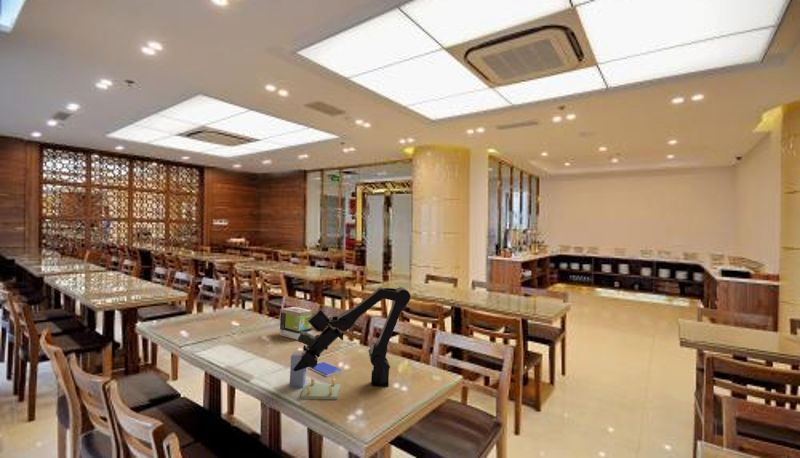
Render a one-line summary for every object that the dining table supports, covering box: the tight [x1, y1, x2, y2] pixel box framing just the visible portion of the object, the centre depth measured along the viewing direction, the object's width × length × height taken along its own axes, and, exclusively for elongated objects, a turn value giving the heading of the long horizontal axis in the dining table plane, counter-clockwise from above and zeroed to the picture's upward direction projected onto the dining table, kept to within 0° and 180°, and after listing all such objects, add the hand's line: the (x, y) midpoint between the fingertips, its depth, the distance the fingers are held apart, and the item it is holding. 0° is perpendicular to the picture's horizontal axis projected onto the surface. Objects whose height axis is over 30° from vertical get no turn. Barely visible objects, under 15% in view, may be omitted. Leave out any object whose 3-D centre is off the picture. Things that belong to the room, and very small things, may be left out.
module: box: [289, 350, 307, 389], centre depth 151 cm, size 5×5×13 cm
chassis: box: [300, 377, 341, 400], centre depth 145 cm, size 13×11×4 cm
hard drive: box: [308, 361, 343, 378], centre depth 167 cm, size 2×8×12 cm
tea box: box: [279, 306, 313, 341], centre depth 214 cm, size 15×10×15 cm
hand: (294, 367), depth 151 cm, fingers closed on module, 5 cm apart
